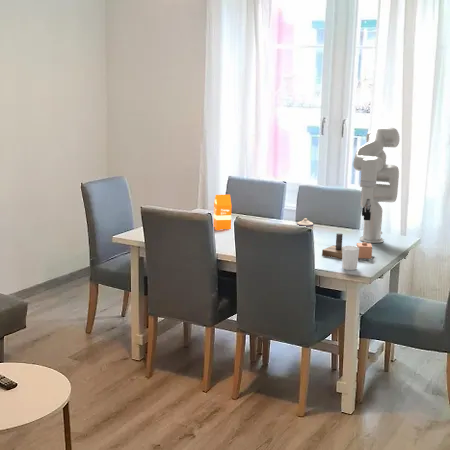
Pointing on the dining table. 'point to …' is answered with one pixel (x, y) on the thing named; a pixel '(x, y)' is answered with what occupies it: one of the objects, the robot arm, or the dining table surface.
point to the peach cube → (365, 250)
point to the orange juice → (222, 212)
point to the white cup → (350, 257)
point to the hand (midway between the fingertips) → (365, 218)
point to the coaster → (366, 258)
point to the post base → (334, 248)
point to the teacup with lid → (305, 223)
